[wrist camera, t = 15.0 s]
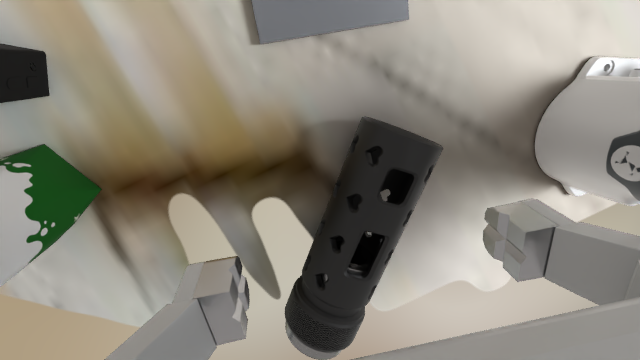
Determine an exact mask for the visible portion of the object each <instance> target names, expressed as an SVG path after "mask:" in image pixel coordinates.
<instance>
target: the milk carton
mask: <svg viewBox="0 0 640 360" xmlns="http://www.w3.org/2000/svg"><path fill="white" fill-rule="evenodd" d="M100 191H101V188H99V187H98V186H97V185H96V184H94V183H93V182H92V181H91V180H89V179H88V178H87V177H85V176H84V175H83V174H82V173H80V172H79V171H78V170H77V169H75V168H74V167H73V166H71V165H70V164H69V163H68V162H66V161H65V160H64V159H63V158H61V157H60V156H59V155H57V154H56V153H55V152H54V151H52V150H51V149H50V148H49V147H47V146H46V145H45V144H43V145H40V146H37V147H34V148H31V149H28V150H25V151H23V152H20V153H17V154H14V155H10V156H7V157H4V158H1V159H0V287H1V286H2V285H4V284H5V283H6V282H7V281H8V280H10V279H11V278H12V277H13V276H15V275H16V274H17V273H18V272H19V271H21V270H22V269H23V268H24V267H26V266H27V265H28V264H29V263H30V262H32V261H33V260H34V259H35V258H36V257H38V256H39V255H40V254H41V253H43V252H44V251H45V250H46V249H47V248H49V247H50V246H51V245H52V244H53V243H55V242H56V241H57V240H58V239H59V238H60V237H61V236H62V235H63V234H64V233H65V232H66V231H67V230H68V229H69V228H70V227H71V226H72V225H73V224H74V223H75V222H76V220H77V219H78V218H79V217H80V216H81V214H82V213H83V212H84V211H85V209H86V208H87V207H88V206H89V204H90V203H91V202H92V201H93V199H94V198H95V197H96V196H97V194H98V193H99V192H100Z"/></svg>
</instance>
